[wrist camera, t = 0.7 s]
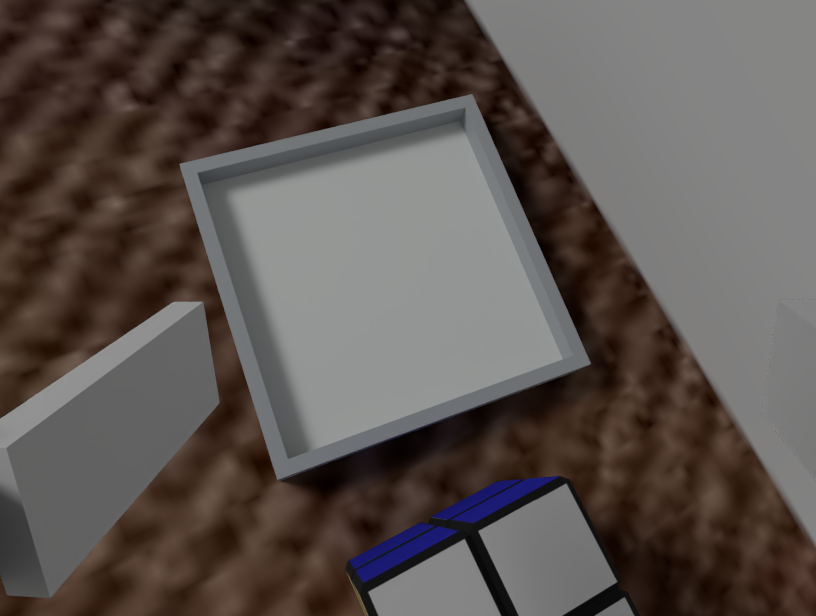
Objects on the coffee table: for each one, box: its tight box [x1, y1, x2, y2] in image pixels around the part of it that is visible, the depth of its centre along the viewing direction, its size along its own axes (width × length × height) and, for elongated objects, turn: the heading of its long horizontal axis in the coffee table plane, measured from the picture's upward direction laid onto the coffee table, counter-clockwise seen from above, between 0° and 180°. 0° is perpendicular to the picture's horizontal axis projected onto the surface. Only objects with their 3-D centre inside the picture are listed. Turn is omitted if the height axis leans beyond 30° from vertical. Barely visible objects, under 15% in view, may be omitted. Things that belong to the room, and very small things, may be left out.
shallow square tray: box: [179, 94, 591, 481], centre depth 37 cm, size 19×19×2 cm
